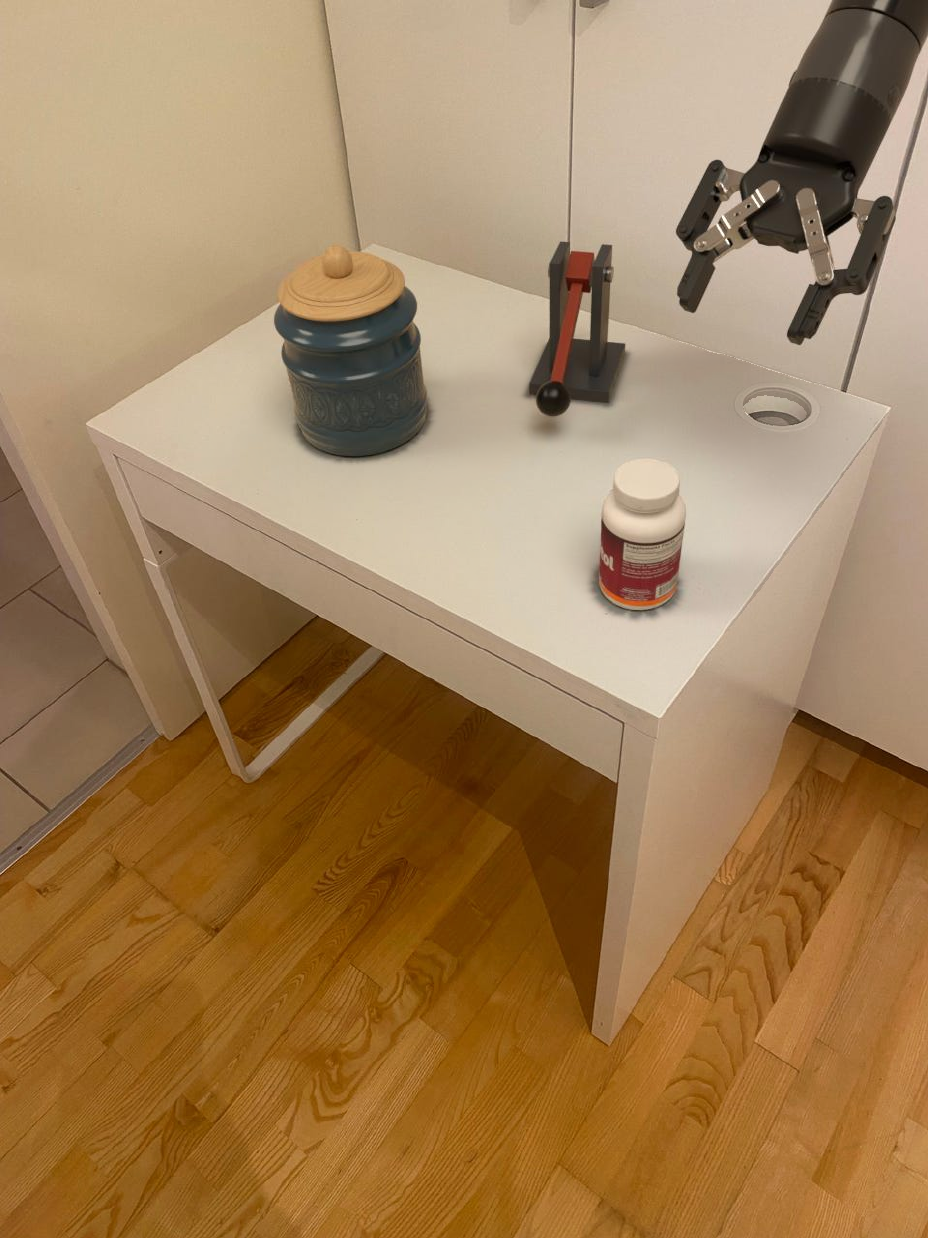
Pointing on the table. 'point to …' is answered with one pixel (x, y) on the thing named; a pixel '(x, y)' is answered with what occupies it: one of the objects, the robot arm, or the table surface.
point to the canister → (352, 352)
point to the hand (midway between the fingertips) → (737, 324)
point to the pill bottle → (642, 535)
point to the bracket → (588, 359)
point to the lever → (566, 335)
